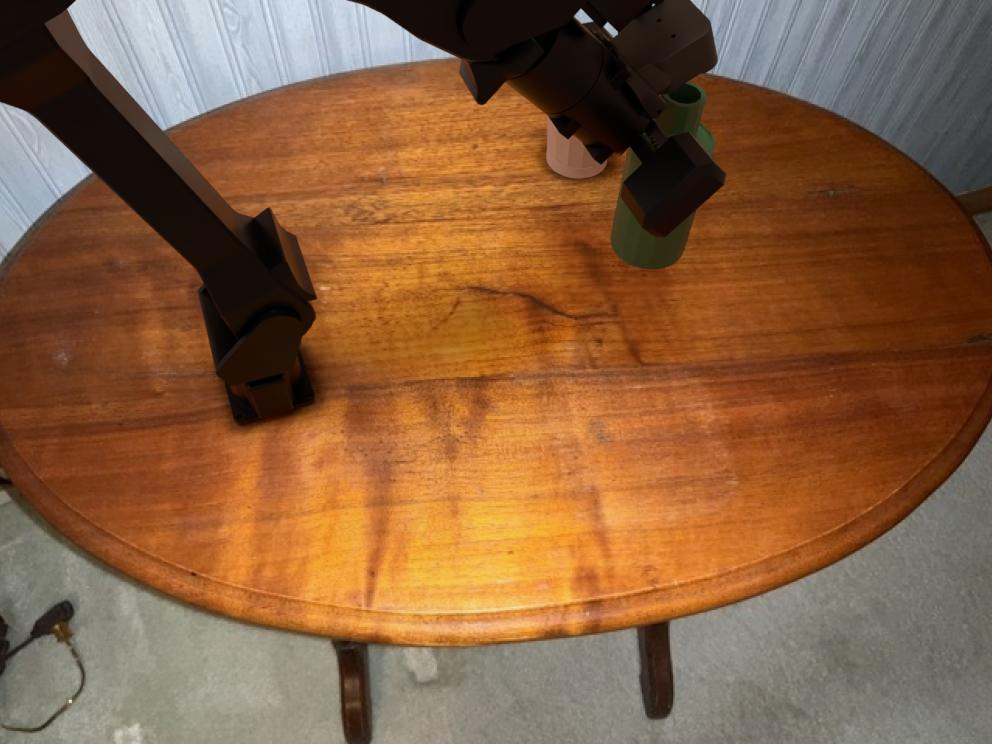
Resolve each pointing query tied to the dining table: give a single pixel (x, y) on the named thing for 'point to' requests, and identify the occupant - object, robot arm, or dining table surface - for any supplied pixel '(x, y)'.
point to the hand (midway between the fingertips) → (679, 170)
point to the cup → (569, 155)
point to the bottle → (675, 119)
